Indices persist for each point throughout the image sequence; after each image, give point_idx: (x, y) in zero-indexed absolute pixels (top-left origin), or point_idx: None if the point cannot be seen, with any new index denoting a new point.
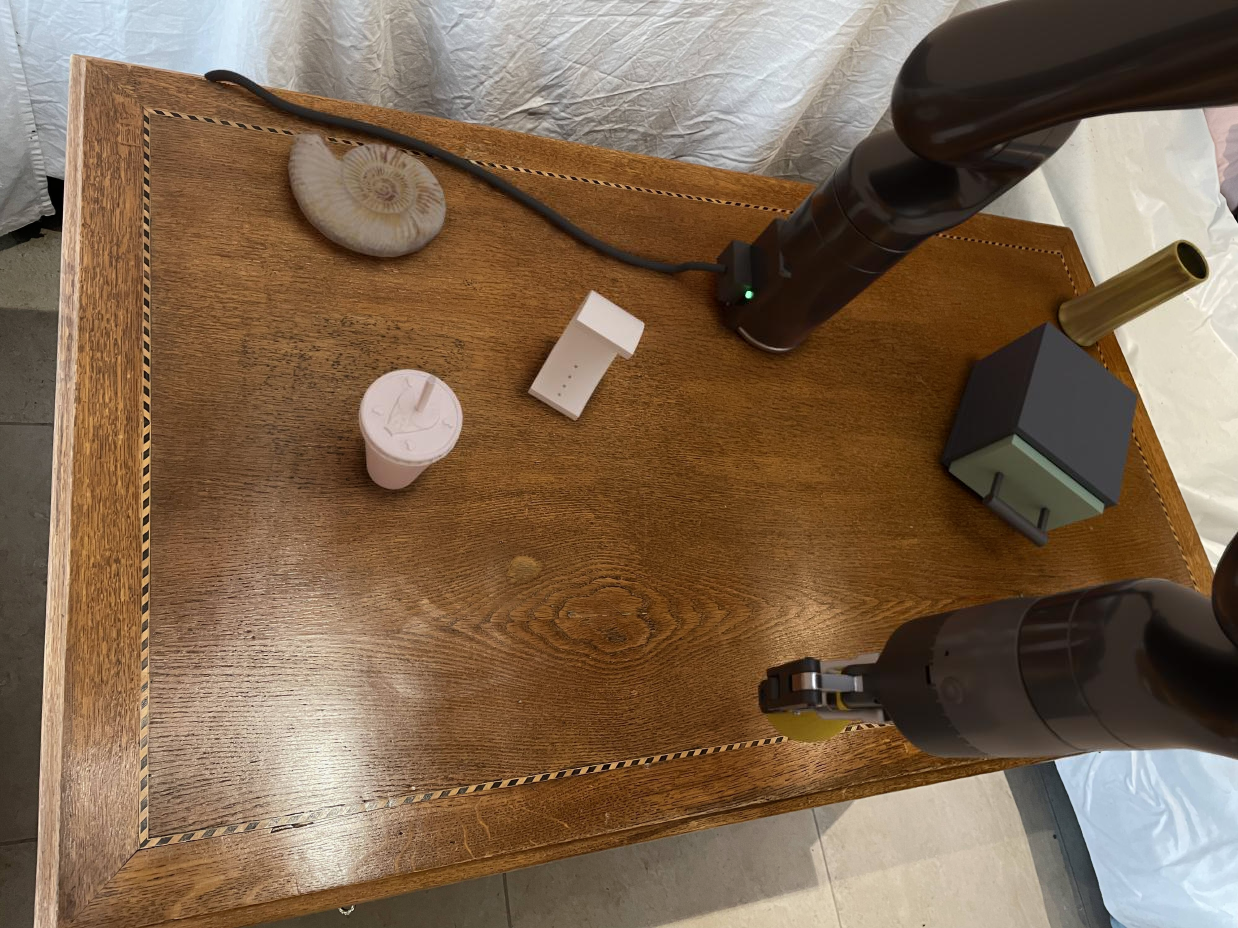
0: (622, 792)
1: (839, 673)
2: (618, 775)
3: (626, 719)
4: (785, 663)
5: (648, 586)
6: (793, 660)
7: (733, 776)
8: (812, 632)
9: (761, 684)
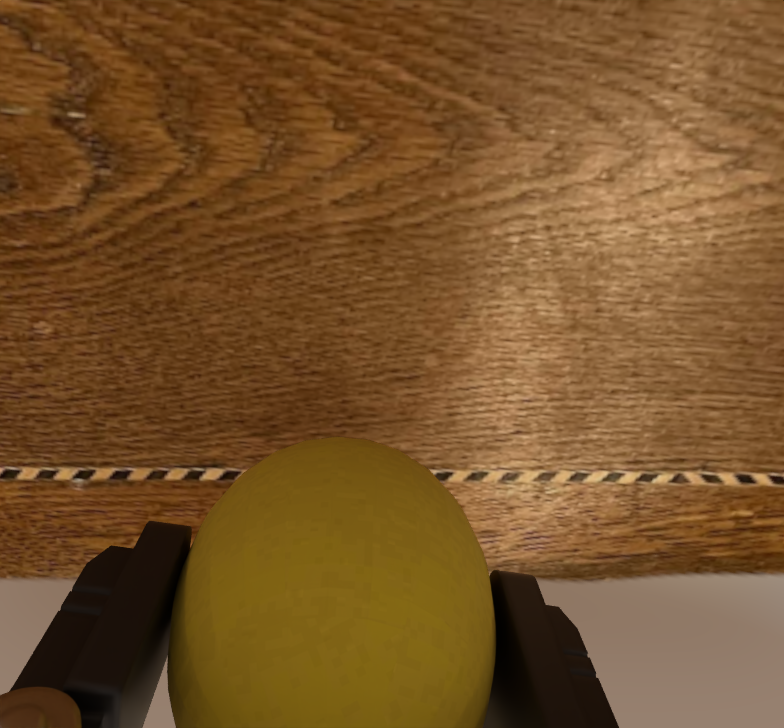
0: (15, 524)
1: (392, 688)
2: (4, 493)
3: (22, 386)
4: (282, 469)
5: (92, 26)
6: (302, 477)
7: None
8: (639, 233)
9: (81, 575)
